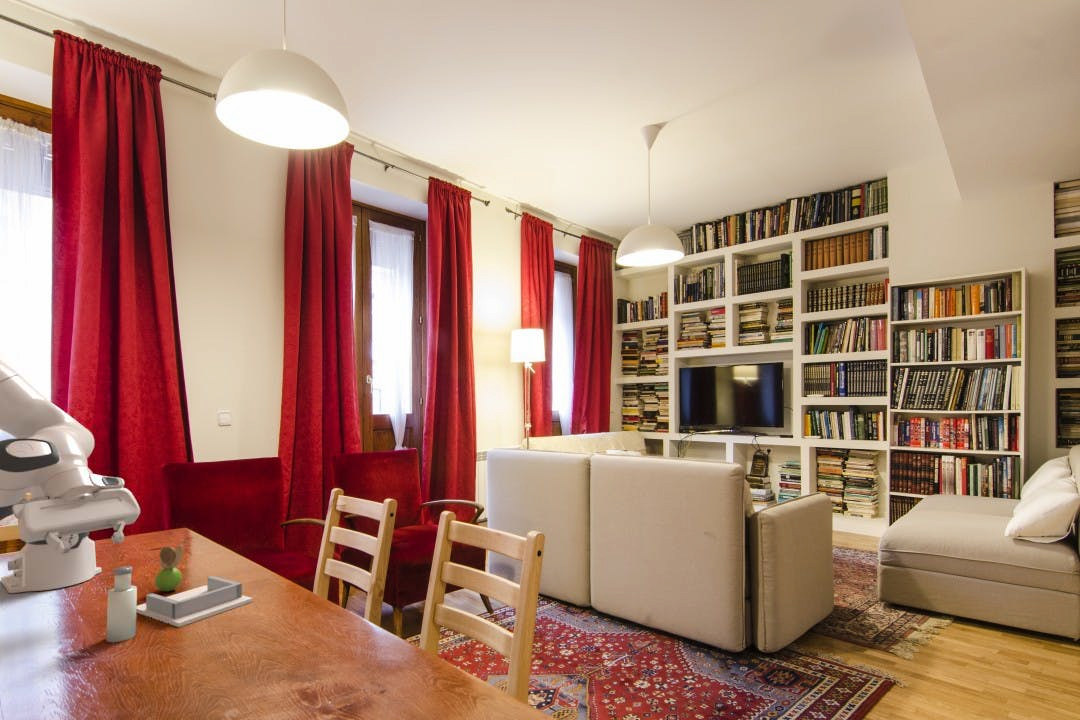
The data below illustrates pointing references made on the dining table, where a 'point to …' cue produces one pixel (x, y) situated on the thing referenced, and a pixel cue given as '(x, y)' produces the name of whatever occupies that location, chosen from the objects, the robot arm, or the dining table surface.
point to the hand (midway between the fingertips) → (93, 546)
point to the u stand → (195, 602)
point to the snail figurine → (169, 568)
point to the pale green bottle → (121, 607)
